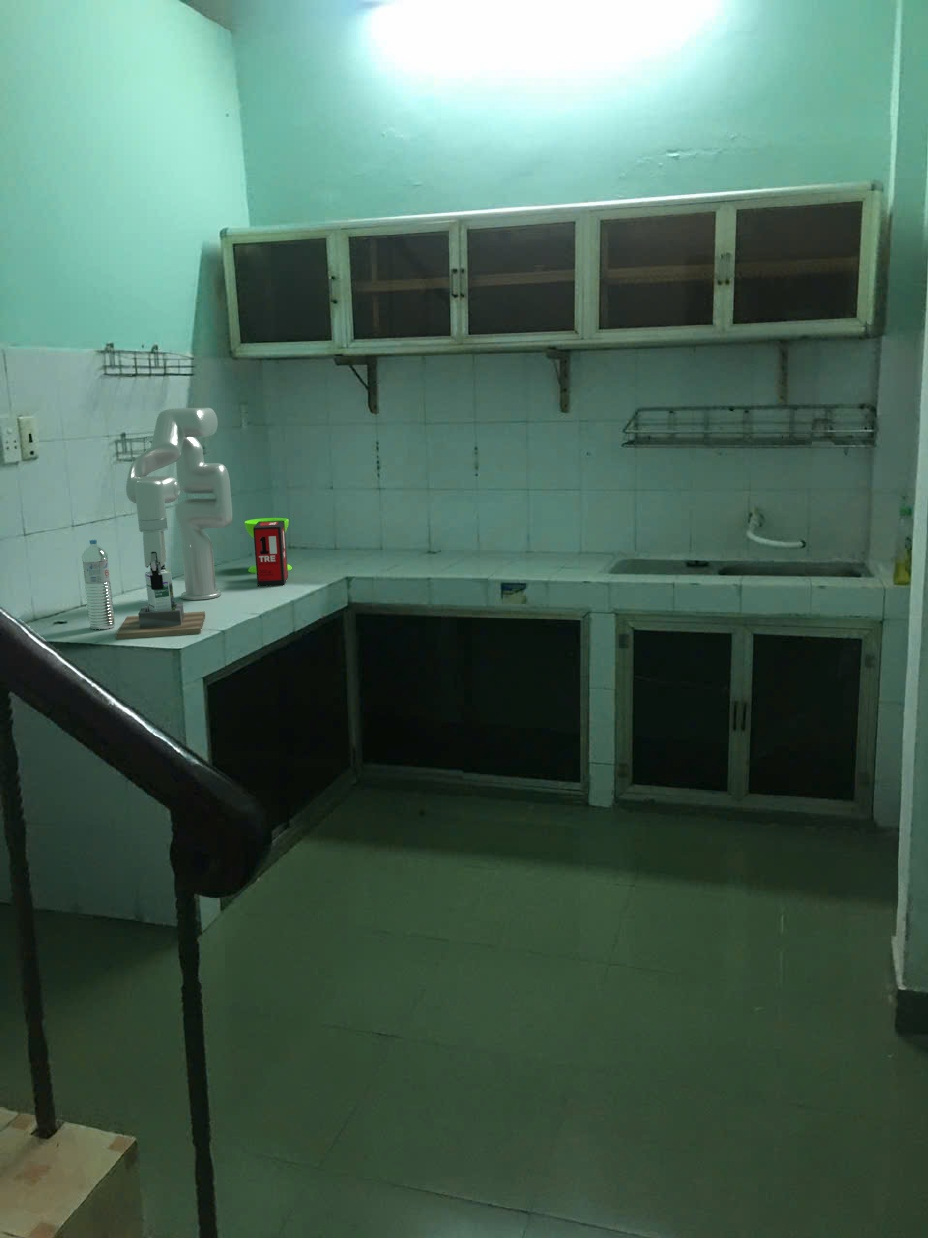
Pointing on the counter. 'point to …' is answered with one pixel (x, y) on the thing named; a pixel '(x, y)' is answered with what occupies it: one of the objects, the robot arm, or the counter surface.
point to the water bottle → (98, 587)
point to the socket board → (161, 623)
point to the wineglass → (249, 527)
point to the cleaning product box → (270, 553)
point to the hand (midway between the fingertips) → (159, 585)
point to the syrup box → (160, 593)
